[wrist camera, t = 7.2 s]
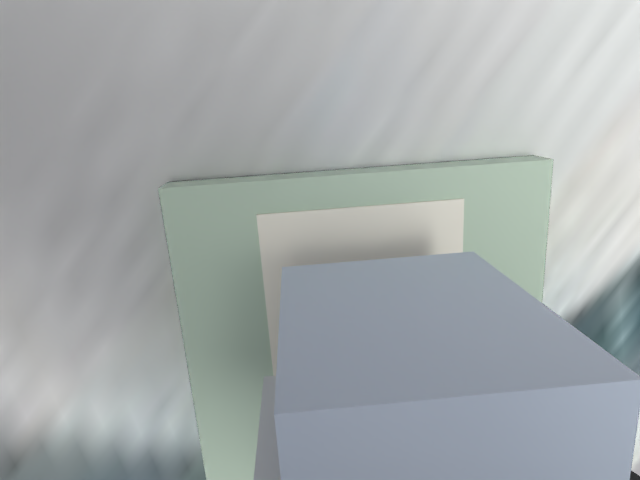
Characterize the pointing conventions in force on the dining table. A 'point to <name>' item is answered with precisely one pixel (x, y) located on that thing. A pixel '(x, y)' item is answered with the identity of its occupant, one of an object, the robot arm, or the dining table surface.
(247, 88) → the dining table surface
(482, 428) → the plug
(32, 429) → the dining table surface
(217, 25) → the dining table surface
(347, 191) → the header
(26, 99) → the dining table surface
